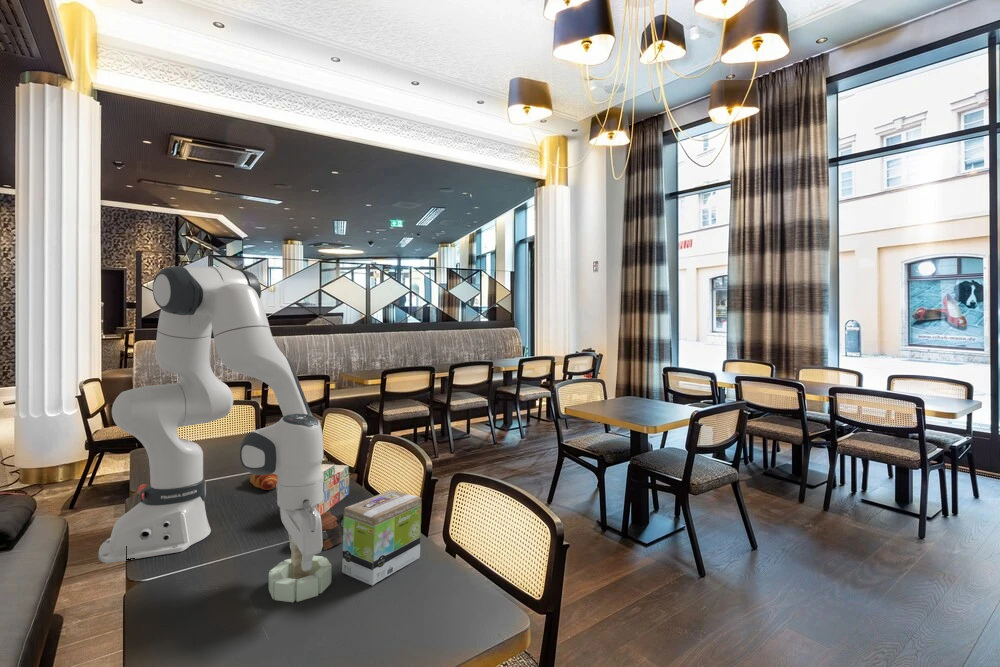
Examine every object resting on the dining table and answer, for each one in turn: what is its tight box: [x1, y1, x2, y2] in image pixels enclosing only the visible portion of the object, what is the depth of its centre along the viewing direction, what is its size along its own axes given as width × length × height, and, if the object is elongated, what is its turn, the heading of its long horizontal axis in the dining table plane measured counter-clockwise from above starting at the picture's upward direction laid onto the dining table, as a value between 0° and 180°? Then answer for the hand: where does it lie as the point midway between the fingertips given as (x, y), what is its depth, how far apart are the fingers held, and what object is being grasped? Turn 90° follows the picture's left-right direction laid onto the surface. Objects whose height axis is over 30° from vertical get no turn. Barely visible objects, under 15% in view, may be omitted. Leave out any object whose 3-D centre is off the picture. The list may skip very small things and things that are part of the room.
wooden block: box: [290, 537, 310, 579], centre depth 101 cm, size 3×3×10 cm
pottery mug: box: [320, 510, 344, 551], centre depth 122 cm, size 12×10×8 cm
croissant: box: [249, 473, 278, 491], centre depth 163 cm, size 21×10×8 cm, turn 33°
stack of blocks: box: [316, 463, 350, 515], centre depth 144 cm, size 21×6×12 cm, turn 170°
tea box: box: [341, 489, 422, 586], centre depth 110 cm, size 15×10×15 cm, turn 148°
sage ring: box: [268, 555, 332, 603], centre depth 101 cm, size 12×12×4 cm
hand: (300, 559), depth 101 cm, fingers open, 8 cm apart
